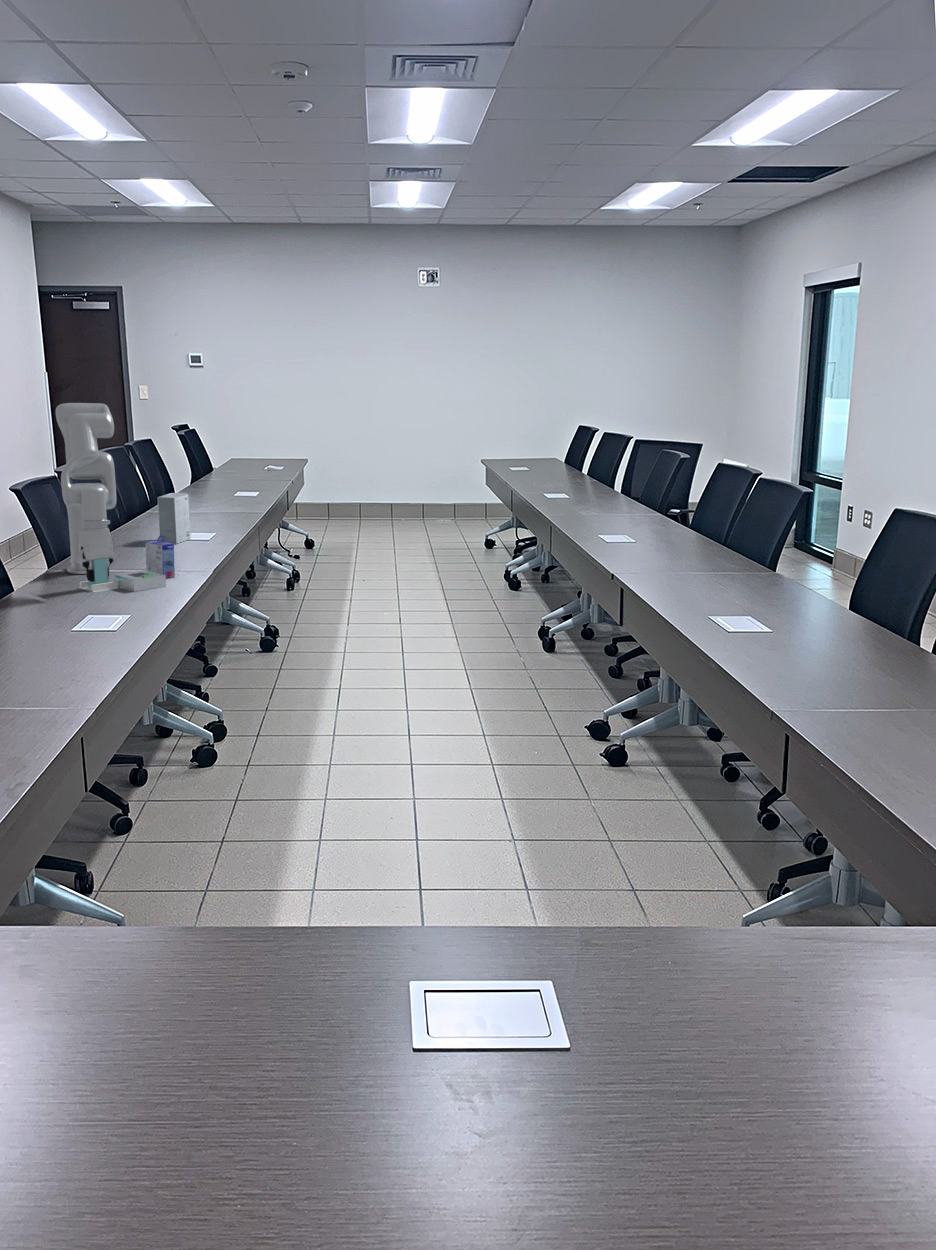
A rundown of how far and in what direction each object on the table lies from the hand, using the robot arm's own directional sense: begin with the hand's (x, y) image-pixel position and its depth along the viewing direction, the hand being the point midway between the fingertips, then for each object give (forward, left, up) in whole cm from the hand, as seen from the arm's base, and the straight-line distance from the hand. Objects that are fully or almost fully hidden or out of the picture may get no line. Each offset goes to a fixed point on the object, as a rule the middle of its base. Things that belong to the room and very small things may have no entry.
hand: (98, 579), depth 346 cm
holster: (0, 0, -4) cm, 4 cm away
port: (+7, +11, -4) cm, 14 cm away
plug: (0, 0, -3) cm, 3 cm away
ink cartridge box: (-8, +29, -4) cm, 30 cm away
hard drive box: (-71, +78, -4) cm, 106 cm away
